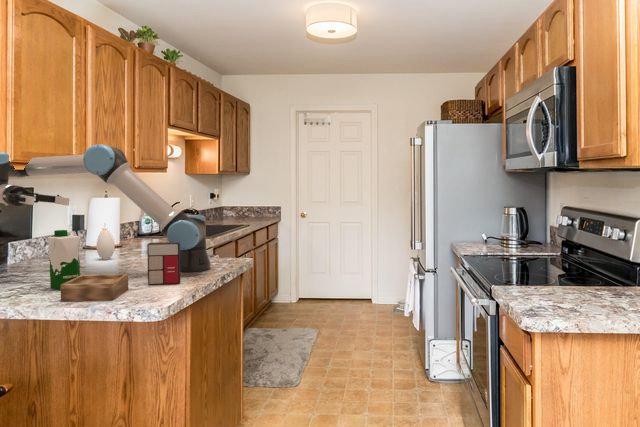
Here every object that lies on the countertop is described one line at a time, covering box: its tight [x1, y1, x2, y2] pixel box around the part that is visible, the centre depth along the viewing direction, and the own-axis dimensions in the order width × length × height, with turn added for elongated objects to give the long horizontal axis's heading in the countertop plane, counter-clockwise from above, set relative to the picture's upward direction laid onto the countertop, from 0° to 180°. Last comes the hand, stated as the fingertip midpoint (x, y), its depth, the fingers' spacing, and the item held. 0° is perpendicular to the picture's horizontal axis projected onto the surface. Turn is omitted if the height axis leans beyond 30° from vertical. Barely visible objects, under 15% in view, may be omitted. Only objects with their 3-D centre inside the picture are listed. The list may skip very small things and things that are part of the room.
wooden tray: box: [60, 274, 129, 302], centre depth 151 cm, size 16×16×5 cm
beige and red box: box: [146, 241, 181, 286], centre depth 169 cm, size 11×4×15 cm, turn 101°
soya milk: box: [47, 229, 82, 291], centre depth 162 cm, size 9×9×20 cm
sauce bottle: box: [96, 223, 116, 261], centre depth 224 cm, size 8×8×18 cm
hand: (51, 201), depth 166 cm, fingers open, 13 cm apart
